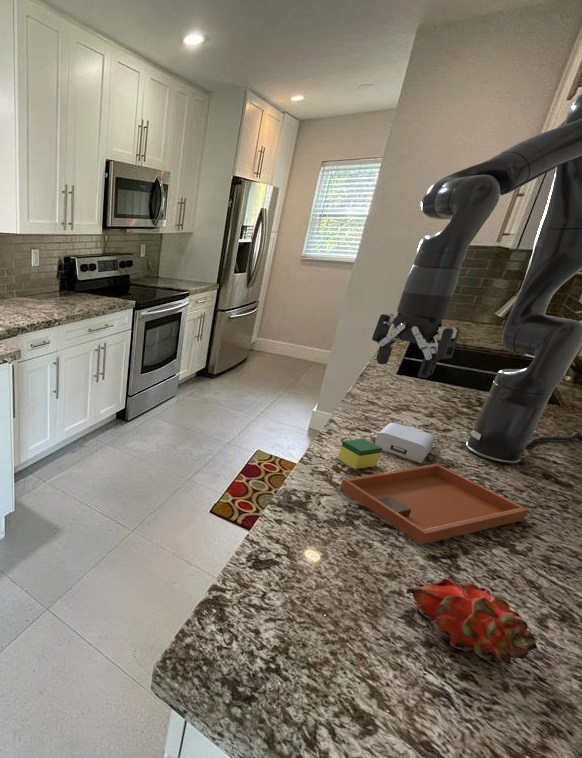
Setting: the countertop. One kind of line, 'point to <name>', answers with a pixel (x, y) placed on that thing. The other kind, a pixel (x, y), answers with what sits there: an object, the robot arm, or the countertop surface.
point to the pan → (434, 502)
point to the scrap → (396, 505)
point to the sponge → (359, 453)
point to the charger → (405, 441)
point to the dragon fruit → (474, 619)
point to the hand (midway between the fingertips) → (401, 370)
